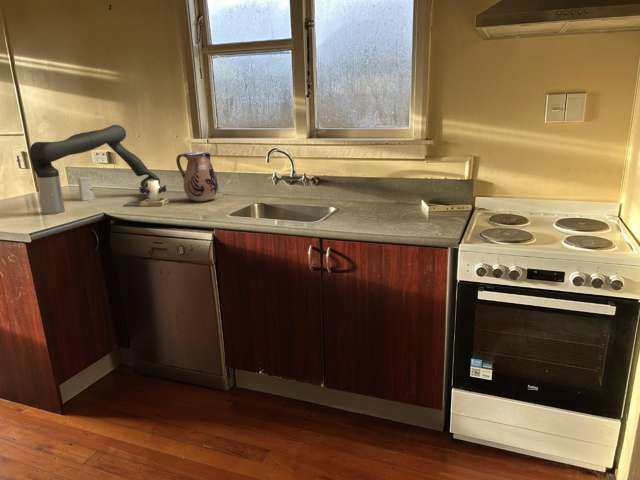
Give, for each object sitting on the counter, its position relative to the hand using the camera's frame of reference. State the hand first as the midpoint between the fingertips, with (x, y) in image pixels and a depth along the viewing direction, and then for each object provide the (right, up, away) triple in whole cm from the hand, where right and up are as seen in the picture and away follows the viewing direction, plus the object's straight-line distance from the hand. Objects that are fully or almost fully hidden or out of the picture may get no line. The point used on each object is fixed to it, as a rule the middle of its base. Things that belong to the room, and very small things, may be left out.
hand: (154, 191), depth 239 cm
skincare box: (-44, -3, +20) cm, 48 cm away
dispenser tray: (-1, -6, +4) cm, 7 cm away
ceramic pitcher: (+19, -3, +14) cm, 24 cm away
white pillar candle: (-1, -6, +4) cm, 7 cm away
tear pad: (-11, -6, +4) cm, 13 cm away
